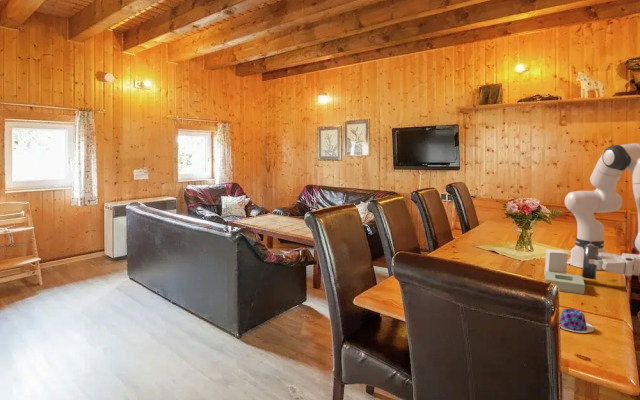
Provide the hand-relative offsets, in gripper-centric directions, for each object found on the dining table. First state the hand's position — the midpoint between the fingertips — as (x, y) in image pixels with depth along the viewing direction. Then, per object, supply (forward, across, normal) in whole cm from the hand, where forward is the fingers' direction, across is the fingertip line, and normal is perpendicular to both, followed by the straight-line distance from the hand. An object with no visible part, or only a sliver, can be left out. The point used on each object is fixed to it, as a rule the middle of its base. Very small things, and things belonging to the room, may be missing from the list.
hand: (587, 259), depth 173 cm
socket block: (+9, +11, +11) cm, 18 cm away
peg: (-1, 0, +8) cm, 8 cm away
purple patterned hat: (+8, +56, +10) cm, 58 cm away
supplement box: (+12, -2, +11) cm, 16 cm away
